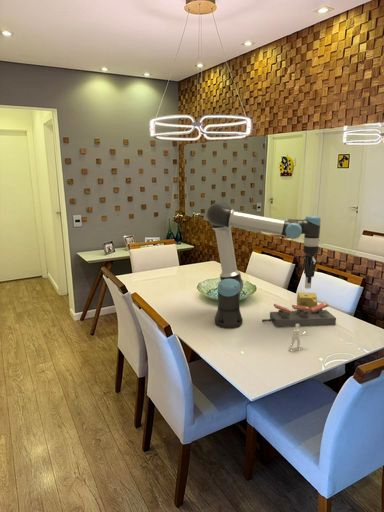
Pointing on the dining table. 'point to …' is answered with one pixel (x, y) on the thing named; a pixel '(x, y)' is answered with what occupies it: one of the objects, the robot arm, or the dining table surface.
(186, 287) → the dining table surface
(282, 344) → the dining table surface
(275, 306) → the rocker
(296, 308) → the rocker
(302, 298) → the cheese
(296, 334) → the figurine
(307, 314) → the power strip
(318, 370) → the dining table surface
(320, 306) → the rocker
